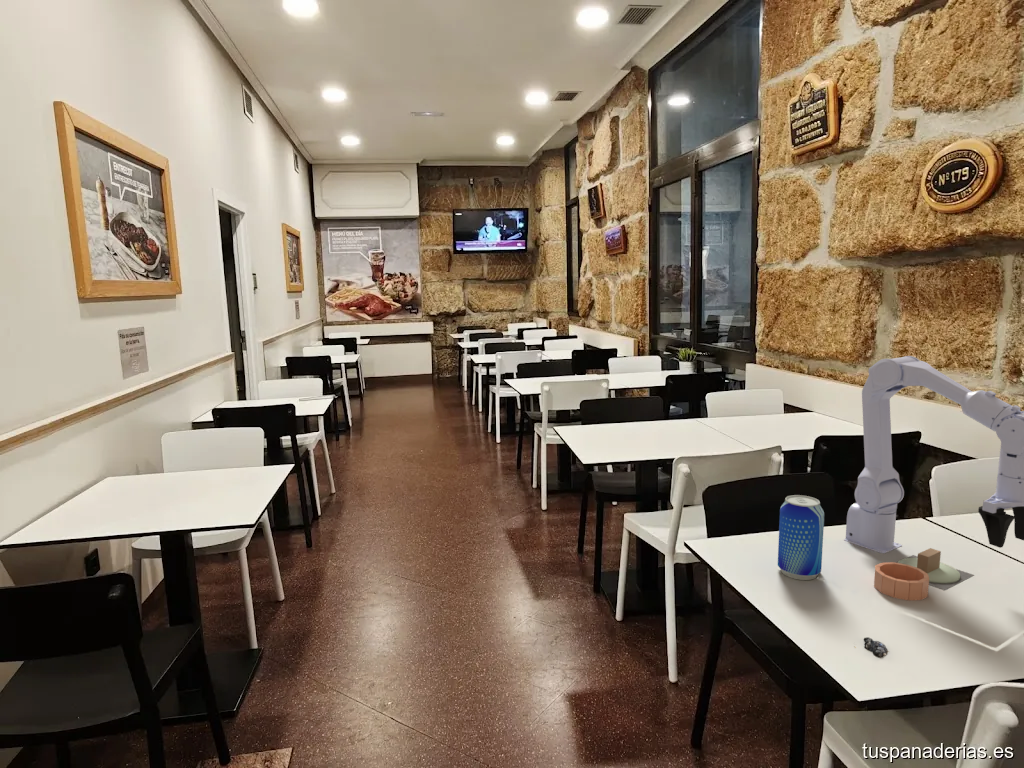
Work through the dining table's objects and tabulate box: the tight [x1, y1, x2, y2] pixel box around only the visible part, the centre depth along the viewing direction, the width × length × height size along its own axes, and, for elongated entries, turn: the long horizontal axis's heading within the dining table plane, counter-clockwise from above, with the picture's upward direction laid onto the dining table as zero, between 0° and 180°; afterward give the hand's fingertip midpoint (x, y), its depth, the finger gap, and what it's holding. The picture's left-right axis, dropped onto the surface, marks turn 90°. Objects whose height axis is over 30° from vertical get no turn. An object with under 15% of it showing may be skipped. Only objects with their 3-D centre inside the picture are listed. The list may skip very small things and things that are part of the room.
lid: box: [897, 547, 960, 584], centre depth 134 cm, size 11×11×4 cm
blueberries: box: [853, 637, 890, 659], centre depth 108 cm, size 7×8×2 cm
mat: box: [895, 554, 975, 591], centre depth 134 cm, size 12×12×1 cm
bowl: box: [873, 561, 930, 601], centre depth 127 cm, size 9×9×4 cm
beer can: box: [777, 494, 825, 581], centre depth 135 cm, size 8×8×16 cm
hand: (1009, 542), depth 125 cm, fingers open, 7 cm apart
